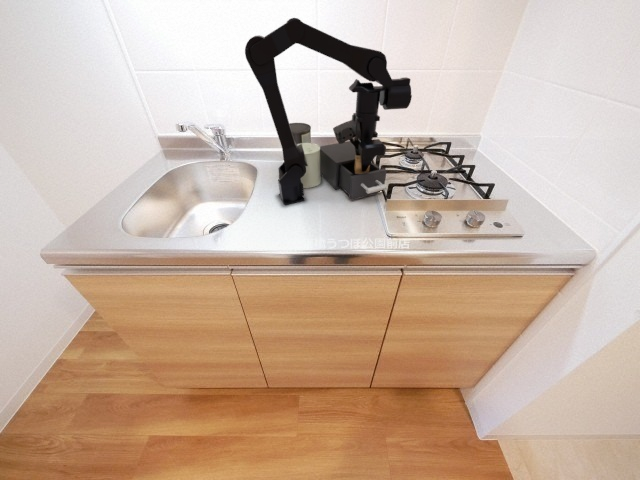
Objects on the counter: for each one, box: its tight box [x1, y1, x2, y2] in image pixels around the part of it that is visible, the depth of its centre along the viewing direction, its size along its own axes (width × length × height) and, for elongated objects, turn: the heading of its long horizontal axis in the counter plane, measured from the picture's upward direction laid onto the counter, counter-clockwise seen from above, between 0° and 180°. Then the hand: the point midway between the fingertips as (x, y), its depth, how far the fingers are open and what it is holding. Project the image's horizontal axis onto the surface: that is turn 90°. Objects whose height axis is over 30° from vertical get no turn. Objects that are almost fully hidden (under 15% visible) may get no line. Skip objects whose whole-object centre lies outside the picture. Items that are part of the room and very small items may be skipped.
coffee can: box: [289, 122, 312, 144], centre depth 91 cm, size 10×10×14 cm
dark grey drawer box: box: [319, 140, 356, 190], centre depth 85 cm, size 15×13×9 cm
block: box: [354, 156, 370, 174], centre depth 74 cm, size 4×4×4 cm
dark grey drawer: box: [338, 161, 388, 201], centre depth 77 cm, size 18×11×7 cm, turn 23°
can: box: [297, 142, 322, 189], centre depth 82 cm, size 9×9×12 cm
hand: (361, 167), depth 75 cm, fingers closed on block, 4 cm apart
